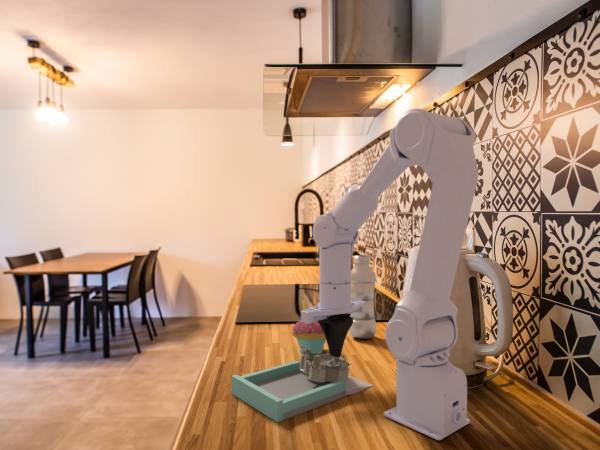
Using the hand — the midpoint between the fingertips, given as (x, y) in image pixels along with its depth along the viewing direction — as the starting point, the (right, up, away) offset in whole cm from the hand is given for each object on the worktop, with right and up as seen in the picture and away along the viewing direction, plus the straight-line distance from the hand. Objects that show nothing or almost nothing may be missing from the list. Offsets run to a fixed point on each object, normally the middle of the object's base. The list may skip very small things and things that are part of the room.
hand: (335, 356), depth 78 cm
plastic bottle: (+9, -4, +26) cm, 28 cm away
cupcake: (-4, -4, +16) cm, 17 cm away
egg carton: (-5, -4, -3) cm, 7 cm away
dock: (-6, -4, -5) cm, 9 cm away
